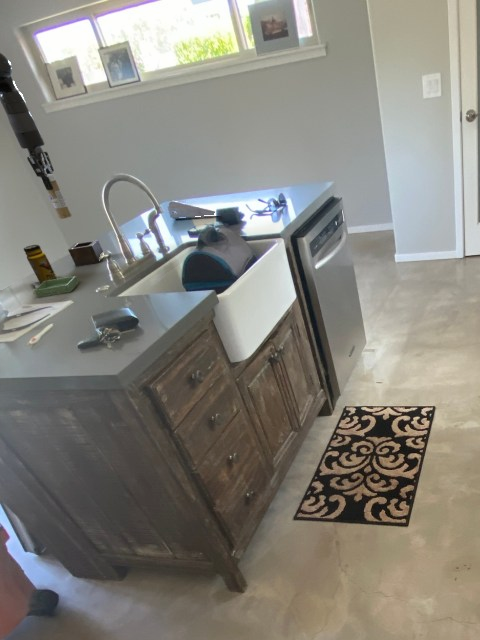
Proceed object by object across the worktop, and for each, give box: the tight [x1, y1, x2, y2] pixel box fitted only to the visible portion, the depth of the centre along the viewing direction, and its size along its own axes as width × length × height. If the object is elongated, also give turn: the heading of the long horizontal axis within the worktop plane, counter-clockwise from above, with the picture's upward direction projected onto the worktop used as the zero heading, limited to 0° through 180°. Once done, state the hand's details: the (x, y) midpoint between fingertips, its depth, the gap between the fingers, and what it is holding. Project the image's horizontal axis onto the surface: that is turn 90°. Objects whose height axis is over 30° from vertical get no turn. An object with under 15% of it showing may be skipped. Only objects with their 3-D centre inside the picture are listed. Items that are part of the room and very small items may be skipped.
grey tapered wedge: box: [167, 199, 216, 220], centre depth 242 cm, size 8×9×26 cm
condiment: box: [23, 244, 59, 289], centre depth 183 cm, size 7×8×12 cm
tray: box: [33, 275, 80, 298], centre depth 178 cm, size 11×10×2 cm
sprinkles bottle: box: [40, 173, 73, 220], centre depth 187 cm, size 5×5×13 cm
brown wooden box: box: [67, 239, 104, 267], centre depth 202 cm, size 9×9×6 cm
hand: (52, 188), depth 185 cm, fingers closed on sprinkles bottle, 4 cm apart
